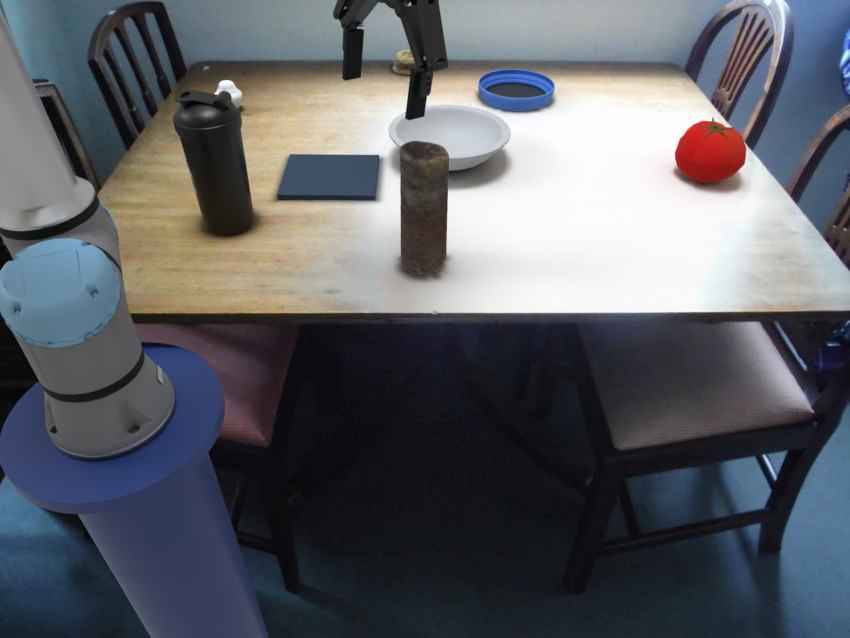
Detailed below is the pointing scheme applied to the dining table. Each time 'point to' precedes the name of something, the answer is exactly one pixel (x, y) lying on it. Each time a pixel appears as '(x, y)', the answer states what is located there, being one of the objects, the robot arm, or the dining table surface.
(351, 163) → the mat
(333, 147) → the dining table surface
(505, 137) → the soup bowl
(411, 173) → the candle
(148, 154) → the dining table surface
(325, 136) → the dining table surface
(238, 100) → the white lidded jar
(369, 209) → the dining table surface
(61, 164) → the robot arm
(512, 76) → the bowl
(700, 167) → the tomato
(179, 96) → the water bottle
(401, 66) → the cake
